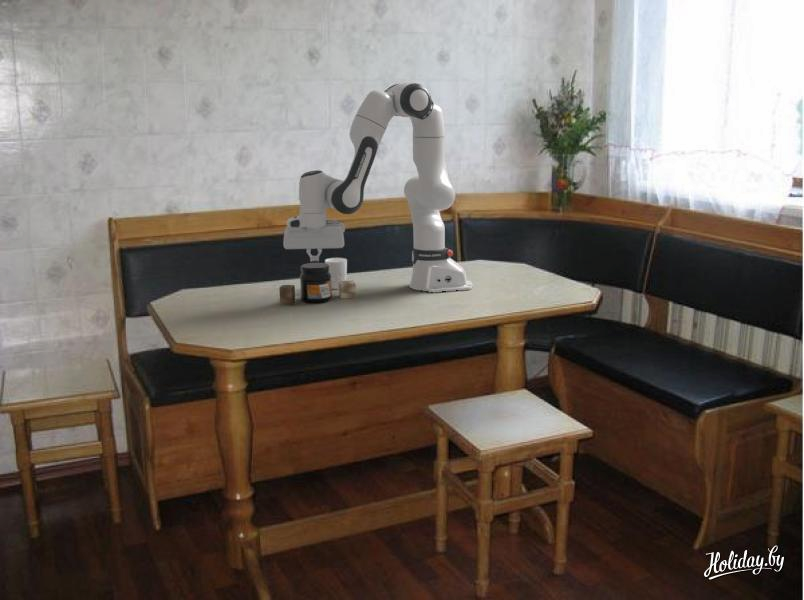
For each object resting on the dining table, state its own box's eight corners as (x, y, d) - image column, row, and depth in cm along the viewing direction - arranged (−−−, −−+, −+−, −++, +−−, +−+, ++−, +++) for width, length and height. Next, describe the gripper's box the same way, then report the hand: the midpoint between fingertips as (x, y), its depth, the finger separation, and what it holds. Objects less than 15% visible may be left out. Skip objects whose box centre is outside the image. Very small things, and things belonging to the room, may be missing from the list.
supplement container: (330, 304, 283) (329, 268, 280) (298, 304, 283) (297, 269, 280) (333, 296, 293) (332, 262, 290) (303, 296, 294) (301, 262, 291)
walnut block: (295, 302, 286) (294, 285, 284) (291, 305, 282) (290, 287, 280) (283, 302, 286) (283, 284, 285) (280, 305, 283) (279, 287, 281)
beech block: (353, 294, 296) (352, 280, 295) (356, 297, 291) (355, 283, 290) (338, 295, 295) (338, 281, 294) (341, 298, 290) (341, 284, 289)
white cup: (349, 284, 310) (348, 257, 307) (345, 290, 302) (345, 262, 300) (327, 284, 310) (327, 257, 308) (323, 289, 303) (322, 262, 300)
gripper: (344, 218, 285) (345, 259, 289) (283, 219, 284) (284, 260, 287) (344, 221, 279) (345, 262, 283) (282, 222, 278) (283, 264, 281)
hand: (314, 261), depth 285 cm, fingers closed
